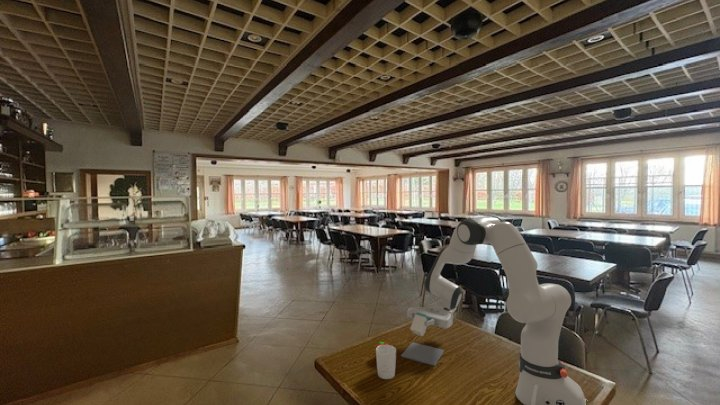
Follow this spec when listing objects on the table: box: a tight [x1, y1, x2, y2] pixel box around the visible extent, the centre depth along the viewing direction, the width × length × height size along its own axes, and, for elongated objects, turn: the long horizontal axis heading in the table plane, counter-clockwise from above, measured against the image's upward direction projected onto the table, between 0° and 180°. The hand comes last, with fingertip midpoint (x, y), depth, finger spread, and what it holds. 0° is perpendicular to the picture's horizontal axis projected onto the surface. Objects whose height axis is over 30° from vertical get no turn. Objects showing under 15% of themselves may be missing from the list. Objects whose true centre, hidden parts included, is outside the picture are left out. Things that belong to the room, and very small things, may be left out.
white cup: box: [375, 344, 397, 380], centre depth 123 cm, size 8×8×10 cm
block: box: [409, 312, 430, 338], centre depth 136 cm, size 4×4×8 cm
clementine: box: [376, 341, 390, 348], centre depth 135 cm, size 8×7×7 cm
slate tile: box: [400, 341, 445, 367], centre depth 139 cm, size 15×14×1 cm
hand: (419, 322), depth 136 cm, fingers closed on block, 4 cm apart
